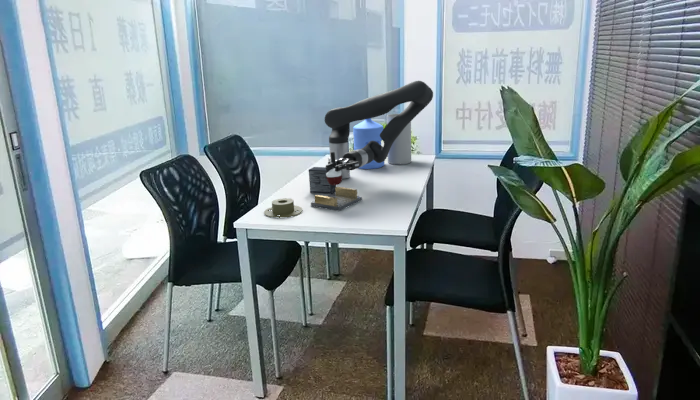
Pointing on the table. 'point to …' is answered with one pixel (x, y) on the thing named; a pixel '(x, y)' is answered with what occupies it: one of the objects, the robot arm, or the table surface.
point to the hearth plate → (337, 199)
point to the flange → (283, 208)
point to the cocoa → (334, 173)
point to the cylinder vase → (400, 145)
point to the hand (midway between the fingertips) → (331, 168)
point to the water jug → (367, 138)
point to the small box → (320, 181)
